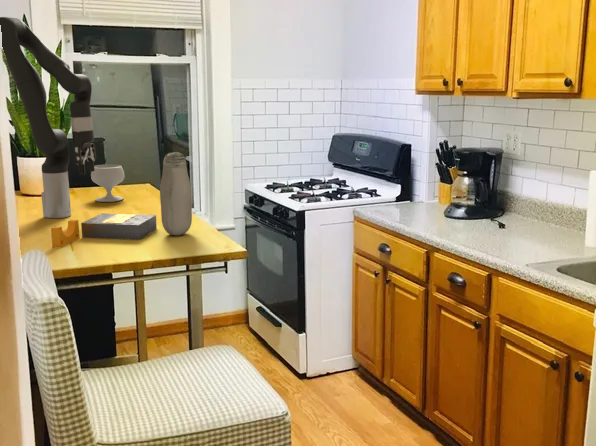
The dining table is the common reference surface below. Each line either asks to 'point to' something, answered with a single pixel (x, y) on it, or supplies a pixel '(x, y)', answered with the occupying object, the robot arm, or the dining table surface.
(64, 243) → the pipe clamp
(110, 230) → the steel riser
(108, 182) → the chalice
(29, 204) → the dining table surface
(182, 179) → the grey bottle
